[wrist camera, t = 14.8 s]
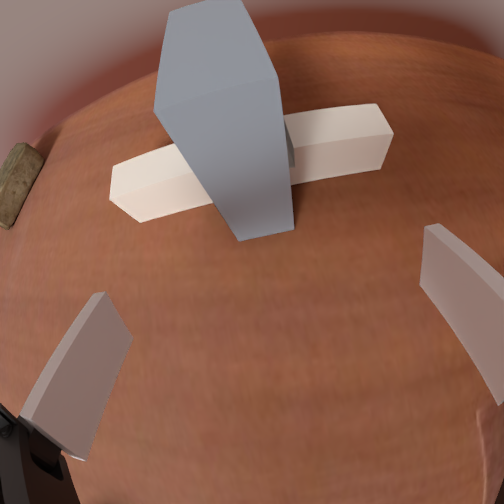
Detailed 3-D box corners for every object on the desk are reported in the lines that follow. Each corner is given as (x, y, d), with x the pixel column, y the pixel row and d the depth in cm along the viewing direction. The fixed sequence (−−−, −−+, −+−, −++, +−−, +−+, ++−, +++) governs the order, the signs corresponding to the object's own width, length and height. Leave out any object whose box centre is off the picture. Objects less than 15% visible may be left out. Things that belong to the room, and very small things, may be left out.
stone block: (49, 158, 28) (27, 140, 24) (13, 234, 26) (-14, 222, 21) (34, 155, 30) (14, 139, 25) (1, 224, 28) (-22, 212, 23)
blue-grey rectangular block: (222, 136, 23) (169, 11, 11) (267, 126, 22) (237, -8, 10) (239, 241, 20) (153, 111, 8) (294, 229, 19) (277, 76, 7)
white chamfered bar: (367, 140, 21) (376, 103, 16) (380, 169, 20) (394, 133, 15) (140, 192, 23) (113, 166, 18) (140, 222, 22) (109, 199, 18)
